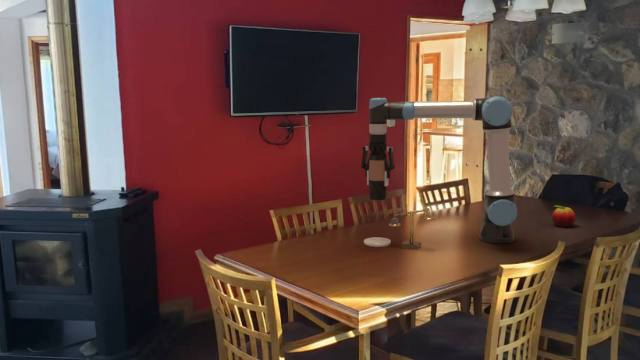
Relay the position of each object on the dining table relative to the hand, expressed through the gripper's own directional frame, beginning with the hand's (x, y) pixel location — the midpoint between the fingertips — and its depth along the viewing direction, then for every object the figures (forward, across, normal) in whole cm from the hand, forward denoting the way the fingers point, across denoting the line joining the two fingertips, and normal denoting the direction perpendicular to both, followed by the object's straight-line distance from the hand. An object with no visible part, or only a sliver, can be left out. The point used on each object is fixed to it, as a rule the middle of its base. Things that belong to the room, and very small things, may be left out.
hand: (377, 185), depth 251 cm
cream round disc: (+27, 0, 0) cm, 27 cm away
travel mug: (+6, 0, 0) cm, 6 cm away
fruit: (+26, -72, -67) cm, 102 cm away
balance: (+26, -16, 0) cm, 31 cm away
